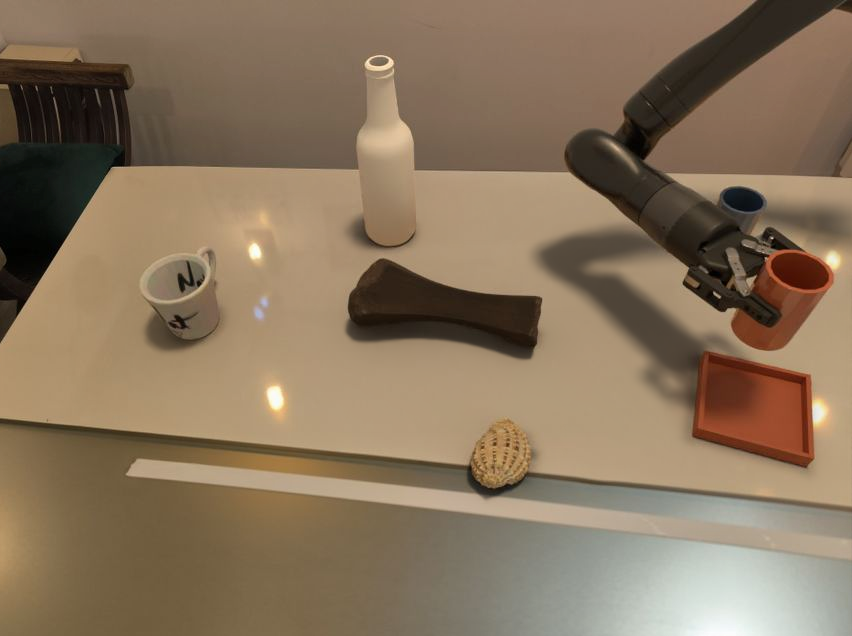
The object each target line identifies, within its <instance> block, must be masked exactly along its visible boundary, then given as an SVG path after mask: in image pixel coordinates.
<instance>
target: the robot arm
mask: <svg viewBox="0 0 852 636" xmlns="http://www.w3.org/2000/svg"><path fill="white" fill-rule="evenodd" d="M833 10H837V11H842V12H845V13H848V14H852V0H755V1H754V2H752V3H751V4H750V5H749V6H747V8H745V9H744V10H743V11H742V12H740V13H739V14H738V15H737V16H735V17H734V18H732V19H731V20H730V21H729V22H727V23H726V24H724V25H723V26H721V27H719V28H718V29H717V30H715V31H714V32H712V33H710V34H709V35H707V36H705V37H704V38H702V39H701V40H699V41H698V42H695V44H692V45H691V46H689V47H688V48H687V49H685V50H683V51H682V52H681V53H679V54H677V55H676V56H675V57H673V58H672V59H671V60H669V62H667V63H666V64H665V65H664V66H662V67H661V68H660V69H659V70H658V71H656V72H655V74H653V76H651V77H650V78H649V79H648V80H647V81H646V82H645V83H644V84H642V86H641V87H639V89H637V90H636V91H635V92H634V93H633V94H631V96H630V97H629V98H628V99H627V100H626V102H625V103H624V105H623V107H622V115H623V117H624V118H623V122H622V123H621V124H620V126H619V127H618V128H617V130H616V131H615V132H614V134H612V133H610V132H609V131H607V130H605V129H603V128H599V127H588V128H584V129H581V130H579V131H578V132H576V133H575V134H573V135H572V136H571V137H570V138H569V140H568V141H567V144H566V145H565V149H564V154H563V159H564V163H565V167H566V169H567V170H568V172H569V173H570V174H571V175H572V176H573V177H574V178H575V179H577V180H578V181H579V182H581V183H582V184H583V185H584V186H586V187H588V188H589V189H590V190H592V191H595V192H596V193H597V194H599V195H601V196H602V197H604V198H605V199H606V200H608V201H609V202H610V203H611V204H612V205H613V206H614V207H615V208H616V209H617V210H618V211H619V212H620V213H621V214H622V215H623V216H624V217H626V218H627V219H628V220H630V221H631V222H632V223H634V224H635V225H636V226H637V227H639V228H640V229H641V230H643V232H644V233H646V235H647V236H648V237H649V238H650V239H651V240H652V241H653V242H655V243H656V244H657V245H659V246H660V247H661V248H662V249H664V250H665V251H666V252H668V253H669V254H670V255H671V256H673V257H674V258H676V259H677V260H678V261H679V262H681V263H682V264H683V265H684V266H685V267H687V268H688V269H687V272H686V274H685V276H684V278H683V280H682V286H684V287H685V288H686V289H687V290H688V291H690V292H692V293H693V294H694V295H696V296H697V297H698V298H699V299H701V300H702V301H704V302H706V304H708V305H709V306H711V307H712V308H714V309H715V310H716V311H718V312H720V313H726V312H727V310H730V309H734V310H737V309H741V310H742V311H744V312H745V313H746V314H747V315H749V316H750V317H752V318H753V319H754V320H755V321H756V322H758V323H759V324H761V325H765V326H766V327H768V328H771V327H773V326H775V325H776V324H777V323H778V321H779V320H780V318H781V317H782V314H781V312H780V311H779V310H777V309H776V308H775V307H773V306H772V305H771V304H769V303H768V302H767V301H765V300H764V299H763V298H761V297H760V296H759V295H757V294H756V293H754V294H752V295H751V290H750V286H749V283H748V282H747V279H750V278H754V277H756V276H757V275H758V273H759V271H760V270H761V268H762V266H763V265H764V263H765V261H766V259H767V258H768V257H769V256H770V255H771V254H772V253H775V252H777V251H780V250H799V251H803V252H807V251H806V250H804V249H803V248H802V247H800V246H799V245H798V244H796V243H795V242H794V241H792V240H791V239H789V238H788V237H787V236H785V235H784V234H782V233H781V232H780V231H778V230H777V229H776V228H774V227H772V226H767V227H765V228H764V230H763V232H762V233H761V234H759V235H756V236H753V235H751V236H750V235H747V234H745V233H743V232H742V231H741V230H740V227H739V223H738V221H737V220H736V219H735V218H734V217H732V216H731V215H729V214H728V213H726V212H725V211H724V210H722V209H721V208H719V207H718V206H716V205H715V203H713V202H712V201H711V200H708V199H707V198H706V197H704V196H703V195H702V194H700V193H699V192H697V191H696V190H694V189H692V188H690V187H688V186H686V185H684V184H682V183H680V182H679V181H677V180H675V179H674V178H673V177H671V176H670V175H669V174H667V173H665V172H664V171H662V170H661V169H660V168H658V167H655V166H654V165H652V164H650V163H649V162H647V161H646V160H647V158H648V157H649V156H650V155H651V153H652V152H653V151H654V150H655V148H656V147H657V145H658V144H659V143H660V141H661V140H662V139H663V138H664V137H665V136H666V135H668V134H669V133H670V132H671V131H672V130H674V129H675V128H676V127H677V126H678V125H679V124H681V123H682V122H683V121H684V120H685V119H687V118H688V117H689V116H690V115H691V114H692V113H693V112H694V111H696V110H697V109H698V108H699V107H701V105H703V104H704V103H706V101H707V100H709V99H710V98H711V97H712V96H714V95H715V94H716V93H717V92H718V91H719V90H721V89H723V88H724V86H726V85H727V84H729V82H731V81H733V79H735V78H736V77H738V76H739V75H740V74H741V73H743V72H744V71H746V70H747V69H749V68H750V67H751V66H753V65H754V64H755V63H757V62H758V61H759V60H761V59H762V58H763V57H765V56H767V55H768V54H769V53H771V52H772V51H774V50H775V49H777V48H778V47H779V46H780V45H782V44H784V43H785V42H787V41H788V40H790V39H791V38H793V37H794V36H796V35H797V34H798V33H800V32H801V31H803V30H804V29H806V28H807V27H809V26H810V25H812V24H813V23H815V22H817V21H818V20H820V19H821V18H823V17H825V16H826V15H827V14H829V13H830V12H832V11H833ZM717 295H718V296H717Z"/></svg>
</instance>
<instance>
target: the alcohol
mask: <svg viewBox="0 0 852 636" xmlns="http://www.w3.org/2000/svg"><path fill="white" fill-rule="evenodd" d="M394 66H395V61H394V60H393V59H392V57H389V56H387V55H382V54H381V55H380V54H379V55H373V56H371V57H369V58H368V59H366V61H365V62H364V69H365V71H364V74H365V75H364V76H365V77H366V120H365V122H364V124H363V125H362V126H361V128H360V129H359V131H358V133H357V137H356V143H355V148H356V156H357V157H356V158H357V166H358V174H359V183H360V193H361V200H362V201H361V202H362V210H363V219H364V220H363V221H364V227H365V233H366V235H367V236H368V238H370V239H371V240H372V241H373V242H374V243H376V244H377V245H379V246H384V247H395V246H400V245H402V244H404V243H406V242H407V241H408V240H410V239H411V238H412V236H413V235H414V234H415V232H416V229H417V213H416V210H417V209H416V207H417V206H416V181H415V180H416V177H415V176H416V174H415V143H414V138H413V134H412V131H411V129H410V128H409V126H408V125H407V124H406V122H404V121H403V120H402V119H401V117H400V114H399V107H398V100H397V92H396V91H397V90H396V85H395V78H394V75H395V68H394Z"/></svg>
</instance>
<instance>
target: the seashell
mask: <svg viewBox="0 0 852 636" xmlns="http://www.w3.org/2000/svg"><path fill="white" fill-rule="evenodd" d="M531 452H532V451H531V445H530V442H529V439H528V436H527V435H526V433H525V431H524V430H522V429H521V428H520V427H519V426H518V425H516V423H515V422H514V421H513V420H512V419H510V418H507V417H503V418H502V419H499V420H496V421H495V422H493V423H492V425H491V426H489V428H488V430H487V431H486V433H484V434H483V435H482V436H481V438H480V439H479V440H477V441H476V442H475V444H474V449H473V451H472V453H471V456H470V467H471V474H472V476H473V477H474V479H475V481H477V482H479V483H480V485H481V486H484V487H487V489H489V488H490V489H491V488H492V489H493V490H495V489H497V488H502V487H504V486H505V485H511V486H512V485H514V484H517V483H519V482H520V481H521V480H523V479H524V477H525V476H526V475H527V472H528V470H529V468H530V464H531V455H532V453H531Z"/></svg>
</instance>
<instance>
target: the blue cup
mask: <svg viewBox="0 0 852 636" xmlns="http://www.w3.org/2000/svg"><path fill="white" fill-rule="evenodd" d="M714 204H715V205H716V206H718V207H719V208H721V209H722V210H724V211H725V212H726V213H728V214H729V215H731V216H732V217H734V218H735V219H736V220H737V221H738V223H739V227H740V230H741V231H742V232H743V233H745V234H747V235H750V236H753V233H754V231H755V229H756V227H757V225H758V223H759V222H760V220H761V218H762V217H763V215H764V212H765V211H766V209H767V206H768V201H767V199H766V198H765V195H763V194H762V193H760V192H759V191H758V190H756V189H753V188H750V187H747V186H741V185H735V186H729V187H726V188H724V189H722V191H720V192H719V194H718V196H717V199H716V201H715V203H714Z"/></svg>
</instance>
